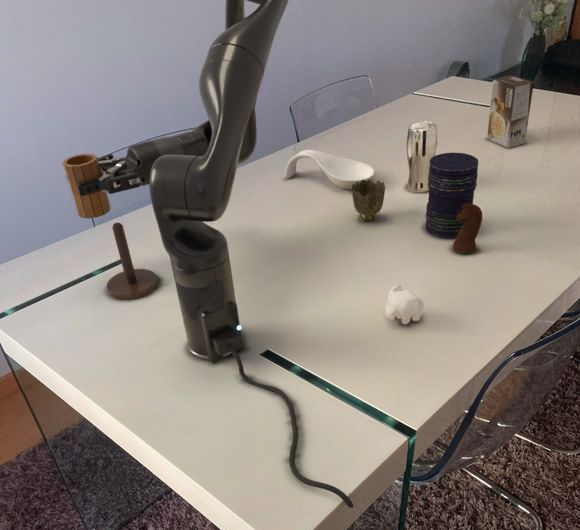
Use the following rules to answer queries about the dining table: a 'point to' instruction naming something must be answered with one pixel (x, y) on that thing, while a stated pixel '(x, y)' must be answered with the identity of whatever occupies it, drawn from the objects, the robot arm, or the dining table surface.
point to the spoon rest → (334, 168)
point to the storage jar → (449, 192)
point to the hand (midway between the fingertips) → (73, 184)
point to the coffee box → (509, 110)
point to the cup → (368, 198)
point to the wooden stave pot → (81, 171)
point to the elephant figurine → (403, 305)
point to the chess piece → (468, 229)
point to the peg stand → (129, 273)
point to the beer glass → (420, 154)
